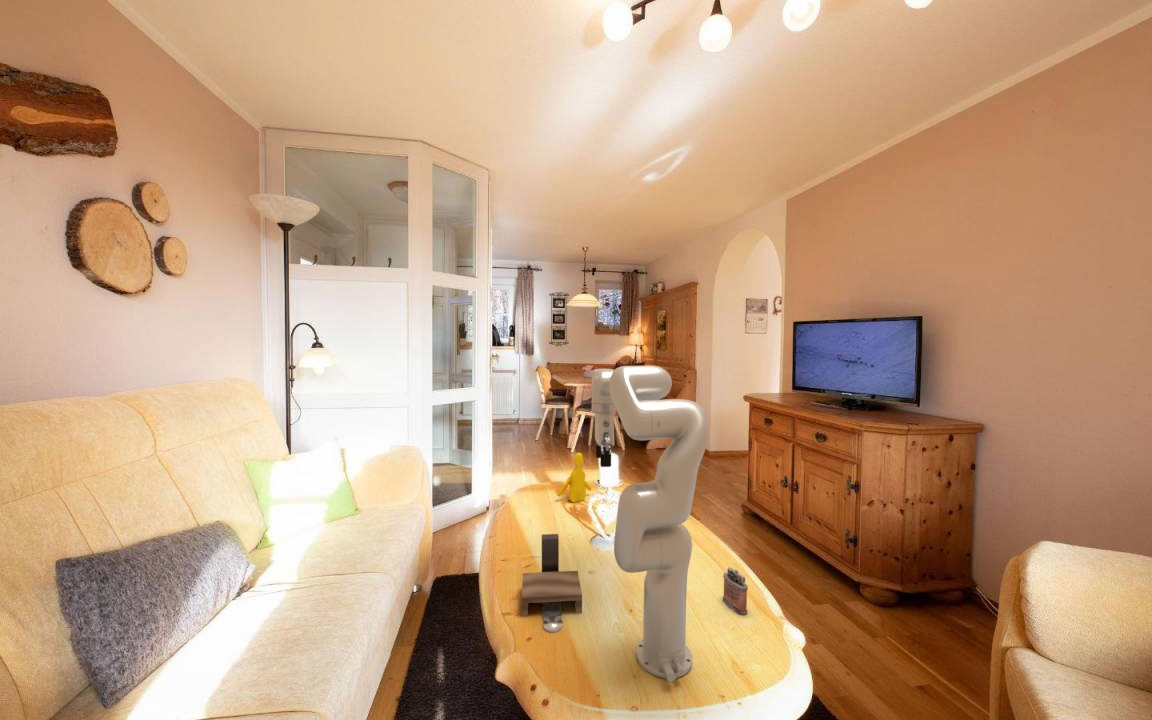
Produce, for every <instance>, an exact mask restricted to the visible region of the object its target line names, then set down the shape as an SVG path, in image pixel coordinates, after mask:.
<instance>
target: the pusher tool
mask: <svg viewBox="0 0 1152 720" xmlns="http://www.w3.org/2000/svg"><path fill="white" fill-rule="evenodd" d="M559 537H560V536H559V534H558V533H547V534H541V572H560V571H559V568H560V565H559V563H560V561H559V559H560V558H559V555H560V554H559V550H560V548H559V546H560V545H559V544H560V543H559V541H560V540H559V539H560V538H559ZM561 602H562V601H557V602H541V603H542V604H541V605H542V611H541V612H542V620H543V621H544V620H545V619H546V618H547V617H551V616H556V617H559V618H561V619H562V620H563V615H562V613H563V612H562V603H561Z"/></svg>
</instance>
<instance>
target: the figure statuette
mask: <svg viewBox="0 0 1152 720" xmlns="http://www.w3.org/2000/svg"><path fill="white" fill-rule="evenodd" d="M573 463H574V468H573V470H572V472H570V475H569V477H567V480H566V481H565V483H563V484H564V485H562V487H561V488H560V489H559V491H558V492H557V493H556V495H557V496H558V497H559V498H560V497H561V495H562V494H563V493H564V491H565V490H566V489H567V488H568V486H569V488H568V494H567V495H568V498H567V499H568V501H570V502H571V503H577V502H581V501H585V500H586V496H587V490H588V492H589V491H590V492H591V490H592V487H591V486H590V485H589V484H588V482H587V481H586V473H585V472H584V469H583V468H582V466H583V464H584V457H583V454H582V453H581V452H575V453H574V456H573ZM586 489H587V490H586Z"/></svg>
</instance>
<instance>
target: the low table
mask: <svg viewBox="0 0 1152 720" xmlns="http://www.w3.org/2000/svg"><path fill="white" fill-rule="evenodd" d="M579 576H580V575H579V570H563V571H559V572H542V571H541V572H524V573H522V584H521V585H522V586H521V617H528V615H529V604H531V603H533V604H535V603H542V602H557V601H561V602H570V601H571V602H573V603H574V608H575V613H576V614H582V613H583V591H582V587H581V582H580V577H579Z"/></svg>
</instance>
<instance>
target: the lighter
mask: <svg viewBox="0 0 1152 720" xmlns="http://www.w3.org/2000/svg"><path fill="white" fill-rule="evenodd" d="M726 569H727V572H724V573H722V574H723V576H722V577H723V597H722V601H723V603H724V604H725V605H726V606H727V607H728V608H729V609H730V610H731V611H733V612H734V613H736V614H737V615H738V616H743V617H745V616H747V615H748V609H747V605H748V603H747V602H748V596H747V594H748V588H749V586H748V584H747V583H746V577H745V576H744V575H742V574H741V573H739V571H738V569H734V568H733V567H730V566H729V567H727V568H726Z"/></svg>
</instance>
